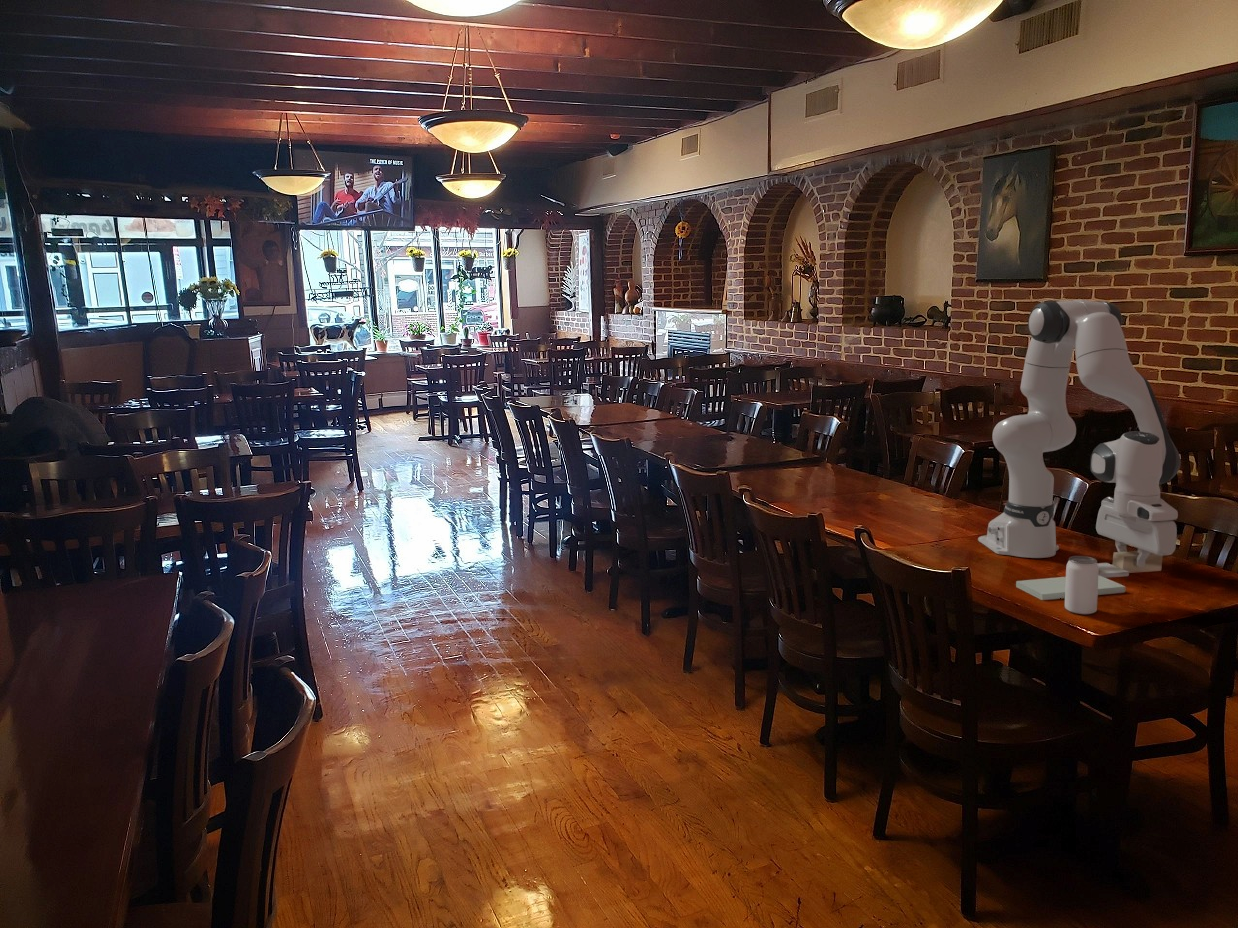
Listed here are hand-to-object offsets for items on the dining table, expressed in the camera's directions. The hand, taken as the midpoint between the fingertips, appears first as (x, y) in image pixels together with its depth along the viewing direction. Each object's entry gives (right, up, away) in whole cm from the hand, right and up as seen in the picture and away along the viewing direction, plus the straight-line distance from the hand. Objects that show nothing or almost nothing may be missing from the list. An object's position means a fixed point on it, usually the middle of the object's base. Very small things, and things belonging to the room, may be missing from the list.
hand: (1131, 563), depth 197 cm
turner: (-1, -2, 0) cm, 2 cm away
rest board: (-7, -8, +14) cm, 17 cm away
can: (-12, -11, 0) cm, 16 cm away
